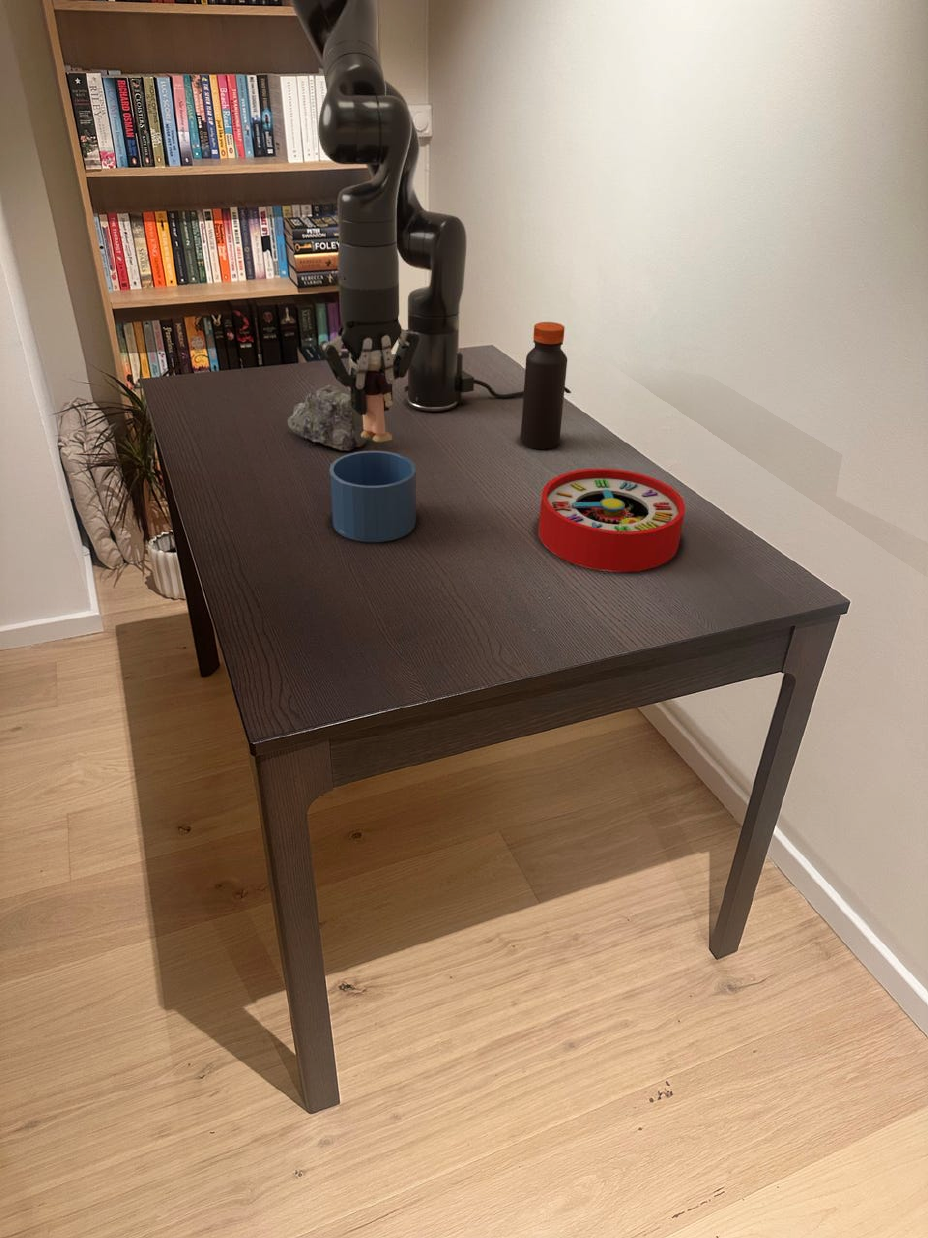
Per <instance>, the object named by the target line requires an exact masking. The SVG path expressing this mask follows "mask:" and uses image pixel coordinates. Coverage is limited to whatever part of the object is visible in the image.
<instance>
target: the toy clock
mask: <svg viewBox="0 0 928 1238" xmlns="http://www.w3.org/2000/svg"><path fill="white" fill-rule="evenodd" d="M539 510H540V511H539V521H538V536H539V539H540V541H541V543H542V545H544V547H545V548H546V549H547V550H549V551H550V552H551V553H552V554H554V555H555V556H557V557H558V558H561V559H562V560H564V561H566V562H568V563H571V564H573V565H577V566H580V567H582V568H587V569H592V570H596V571H603V572H613V573H614V572H616V573H627V572H639V571H645V570H650V569H652V568H656V567H658V566H661V565H664V564H665V563H667V562H668V561H669V560H671V559H672V558H673V557H674V556H675V554H676V553H677V551H678V548H679V546H680V545H679V544H680V540H681V534H682V528H683V523H684V518H685V512H686V504H685V502H684V499H683V497H682V496H681V495H680V493H679V492H678V491H676V489H674V487H671V486H670V485H668V484H667V483H665V482H663V481H661V480H659V479H656V478H654V477H652V476H649V475H646V474H642V473H639V472H634V471H630V470H624V469H615V468H584V469H577V470H573V471H567V472H565V473H562V474H560V475H559V474H558V475H557V476H556V477H554V478H552V479H551V480H549V481H548V482H547V483H546V484H545V486H544V487H543V489H542V492H541V501H540V509H539Z"/></svg>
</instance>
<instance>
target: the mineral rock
mask: <svg viewBox="0 0 928 1238" xmlns="http://www.w3.org/2000/svg"><path fill="white" fill-rule="evenodd" d="M287 426H288V428H289V429H290V431H292V433H295V434H296V435H298V436H299V437H301V438H303V439H307V440H309V441H312V442H313V443H320V444H322V445H324V446H327V447H330V448H333V449H336V450H339V451H346V452H350V451H353V450H354V449H355V448H362V447H363V445H365V443H366V442H367V441H368V438H363V437H361V433H362V432H363V431H364V428H363V415H361V416H360V415H359V414H358V413H357V412H356V411H355V410H354V409H353V408H352V406H351V396H350V394H347V393H344V392H342V390H341V389H340V388H339V387H338V386H335V385H331V384H328V385H325V386H323V387H320V388H318V389H317V390H316V391H312V392H310V393H308V394H307V395H306V397H305V400H304V402H300V403H297V404H295V406H294V408H293V413H292V414H291V415H290V416H289V417H288V418H287Z"/></svg>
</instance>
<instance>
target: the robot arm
mask: <svg viewBox="0 0 928 1238" xmlns="http://www.w3.org/2000/svg"><path fill="white" fill-rule="evenodd" d="M289 1H290V4H291V6H292V8H293V10H294V12H295V14H296V17H297V19H298V21H299V23H300V24H301V27H302V29H303V31H304V32H305V35H306V37H307V39H308V41H309V43H310V45H311V46H312V48H313V51H314V52H315V55H316V57H317V58H318V60H319V62H320V64H321V66H322V71H323V78H324V83H325V88H326V93H325V95H324V97H323V100H322V103H321V107H320V112H319V117H318V125H317V131H318V132H317V135H318V140H319V141H318V142H319V144H320V148H321V150H322V151H323V153H324V154H325V155H326V157H327V158H328V159H330V160H331V161H332V162H334V163H336V164H340V165H366V168H367V171H368V173H369V175H370V177H371V179H370V180H368V181H365V182H363V183H359V184H354V185H350V186H348V187H345V188H343V189H341V191H339V193H338V196H337V222H338V223H337V224H338V225H337V226H338V252H337V272H336V273H337V279H338V297H339V298H338V299H339V316H340V322H341V323H340V325H339V329H338V331H337V336H335V337H333V339H331V340H329V341H326V340H322V341H320V343H319V348H320V350H321V352H322V354H323V356H324V358H325V359H326V362H327V364H328V366H329V368H330V370H331V373H332V374H333V376H334V378H335V380H336V381H337V382H339V383H340V384H341V385H342V386H344V387H345V388H346V387H347V388H348V387H349V395H350V396H351V406H352V408H353V409H354V410H355V411H356V412H357V413H358V414H359V415H360V416H361V415H366V392H365V388H363V387H364V384H365V375H366V372H367V371H368V365H369V357H370V352H372V351H376V350H380V351H381V354H382V356H381V360H382V365H381V367H380V368H379V369H378V370H377V371H378V372H379V373H380V374H382V375H383V376H384V377H385V378H386V382H387V384H388V386H389V389H390V392H391V401H392V402H393V403H394V401H393V399H394V398H393V394H394V393H393V384H394V383H395V381H396V380H397V379H399V378H400V379H403V378H405V377H406V376H407V385H406V386H404V393H407V405H408V406H409V407H411V408H412V409H415V410H418V411H421V412H428V413H429V412H430V413H433V412H434V413H435V412H436V413H438V412H439V413H440V412H446V411H449V410H452V409H454V408H456V407H457V406H459V405H460V406H461V405H462V399H463V393H469V392H473V391H474V389H475V385H479V386H482V387H484V388H485V389H486V390H488V392H489V393H490V395H492V396H493V397H494V398H497V399H502V400H503V399H512V398H515V397H521V396H522V397H523V394H524V390H522V391H517V392H512V393H506V394H501V393H498V392H496V391H494V389H493V387H492V386H491V385H489V384H488V383H486V382H484V381H483V380H479V379H475V377H474V376H472V375H471V374H469V373H467V372H466V371H465V370H463V366H464V365H463V364H464V363H463V362H464V355H463V353H461V352H460V351H459V348H460V347H459V346H460V310H461V300H462V297H463V293H464V287H465V271H466V260H467V249H468V248H467V244H468V242H467V241H468V240H467V239H468V238H467V230H466V227H465V224H464V222H463V221H462V219H461V218H459V217H458V216H456V215H451V214H446V213H440V212H435V211H428V210H426V209H425V208H424V207H423V206H422V204H421V203H420V201H419V198H418V196H417V193H416V190H415V187H414V178H415V173H416V170H417V167H418V163H419V158H420V150H421V144H420V143H421V142H420V138H419V134H418V130H417V127H416V125H415V122H414V120H413V116H412V114H411V111H410V109H409V106H408V104H407V102H406V101H407V100H405V98H404V96H403V95H402V94H401V93H400V91H399V90H397V88H395V87H394V86H393V85H392V84H391V83H390V82H388V81H387V80H385V76H384V71H383V67H382V63H381V58H380V54H379V47H378V46H379V45H378V44H379V43H378V34H379V17H378V16H379V4H378V0H289ZM399 257H400V258H401V259H402V261H403V262H404V263H405V264H407V265H408V266H411V267H412V268H416V269H420V270H425V271H428V272H429V271H430V272H431V273H430V282H429V285H428V286H424V287H423V286H422V287H419V288H416V289H414V290H412V291H410V293H408V296H407V329H404V328H402V325H401V323H400V320H399V316H400V259H399ZM397 343H398V346H397V348H396V350H395V354H394V356H393V353H392V351H393V349H394V347H395V345H396V344H397ZM343 346H344V348H345V349H346V350H347V351H348V353H349V354H348V367H349V369H348V370H347V368H346V366H345V364H344V362H343V360H342V358H341V357H342V355H343V349H342V348H343ZM357 360H358V361H359V362H358V361H357ZM564 393H566V394H571V393H572V391H571V390H570V389H569V388H568V387H566V386H565V390H564ZM383 402H384V412H388V411H390V408H388V407H386V405H385V400H384V398H383Z"/></svg>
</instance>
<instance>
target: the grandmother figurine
mask: <svg viewBox="0 0 928 1238" xmlns="http://www.w3.org/2000/svg"><path fill="white" fill-rule="evenodd" d="M381 356H382V354H381V351H380V350H376V351H372V352H370V357H369V365H368V371H367V372H366V375H365V384H364V387H363V388H365V392H366V415H363V428H364V431H363V432H362V433H361V437H363V438H367V439H370V438H372V441H373V442H375V443H383V442H389V441H391V440H393V435H392V434H391V433H390V432H388V431H386V425H385V424H386V422H385V411H384V402H383V398H384V400H385V405H386V407H388V408H389V409H390V408H392V407H393V405H394V401H393V402H392V401H391V392H390V389H389V386H388V384H387V382H386V378H385V377H384V376H383V375H382V374H380V373H379V372H378V371H377V370H378V369H379V368H380V367H381V365H382V360H381ZM357 361H358V360H357ZM358 362H359V361H358Z"/></svg>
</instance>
